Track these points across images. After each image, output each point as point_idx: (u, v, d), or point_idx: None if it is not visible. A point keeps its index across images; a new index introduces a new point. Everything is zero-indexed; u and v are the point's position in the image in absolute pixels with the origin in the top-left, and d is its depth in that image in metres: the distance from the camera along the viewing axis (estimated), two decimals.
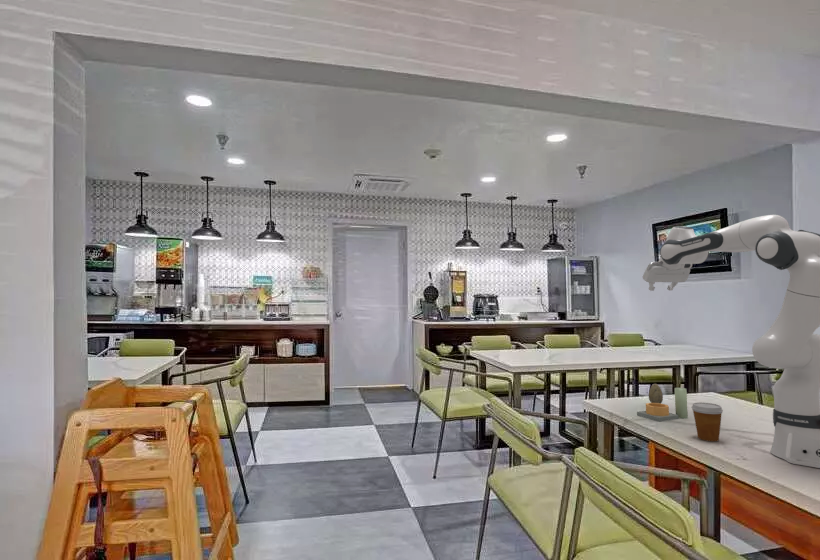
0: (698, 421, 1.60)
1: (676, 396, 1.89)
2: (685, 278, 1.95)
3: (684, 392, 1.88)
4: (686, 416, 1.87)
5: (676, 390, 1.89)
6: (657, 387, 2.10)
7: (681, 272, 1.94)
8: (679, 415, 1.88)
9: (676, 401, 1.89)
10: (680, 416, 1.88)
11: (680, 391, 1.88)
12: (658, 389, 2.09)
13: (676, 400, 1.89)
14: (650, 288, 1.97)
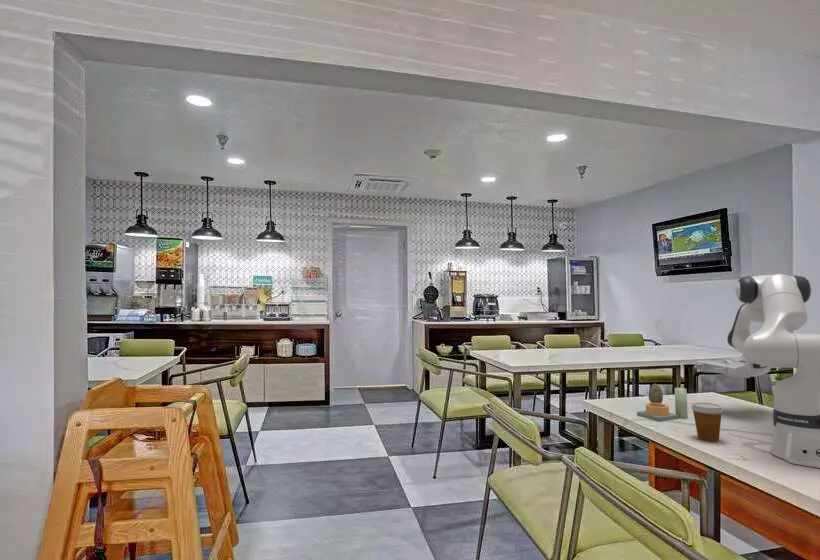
0: (698, 421, 1.60)
1: (676, 396, 1.89)
2: (735, 366, 1.85)
3: (684, 392, 1.88)
4: (686, 416, 1.87)
5: (676, 390, 1.89)
6: (657, 387, 2.10)
7: (735, 366, 1.88)
8: (679, 415, 1.88)
9: (676, 401, 1.89)
10: (680, 416, 1.88)
11: (680, 391, 1.88)
12: (658, 389, 2.09)
13: (676, 400, 1.89)
14: None
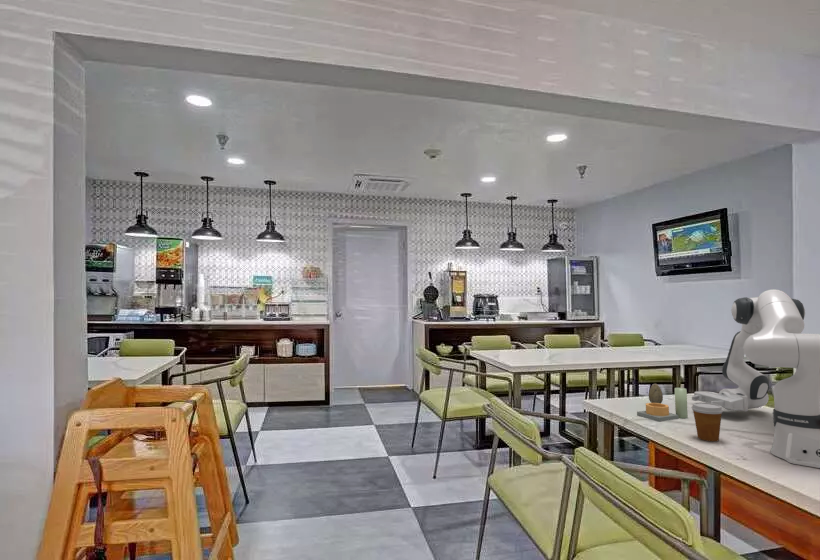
0: (698, 421, 1.60)
1: (676, 396, 1.89)
2: (732, 400, 1.83)
3: (684, 392, 1.88)
4: (686, 416, 1.87)
5: (676, 390, 1.89)
6: (657, 387, 2.10)
7: (732, 399, 1.87)
8: (679, 415, 1.88)
9: (676, 401, 1.89)
10: (680, 416, 1.88)
11: (680, 391, 1.88)
12: (658, 389, 2.09)
13: (676, 400, 1.89)
14: None
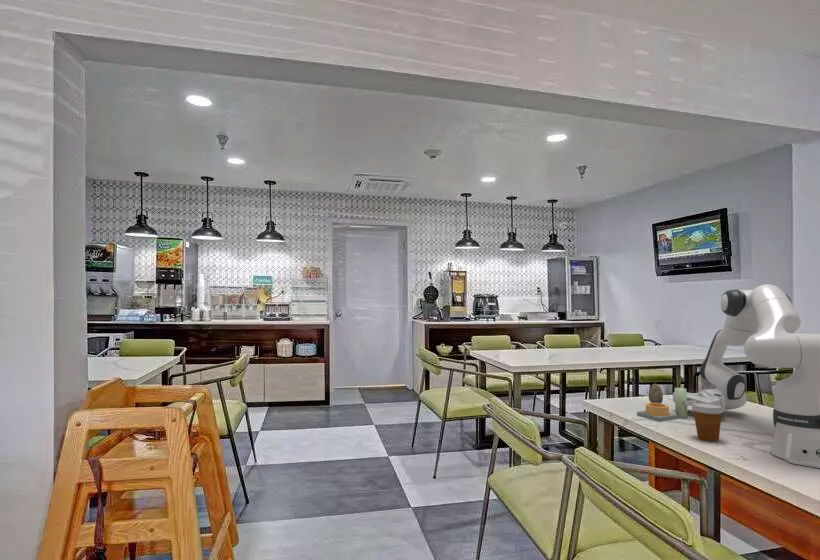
0: (698, 421, 1.60)
1: (676, 396, 1.89)
2: (709, 400, 1.82)
3: (684, 392, 1.88)
4: (686, 416, 1.87)
5: (676, 390, 1.89)
6: (657, 387, 2.10)
7: (709, 400, 1.85)
8: (679, 415, 1.88)
9: (676, 401, 1.89)
10: (680, 416, 1.88)
11: (680, 391, 1.88)
12: (658, 389, 2.09)
13: (676, 400, 1.89)
14: None
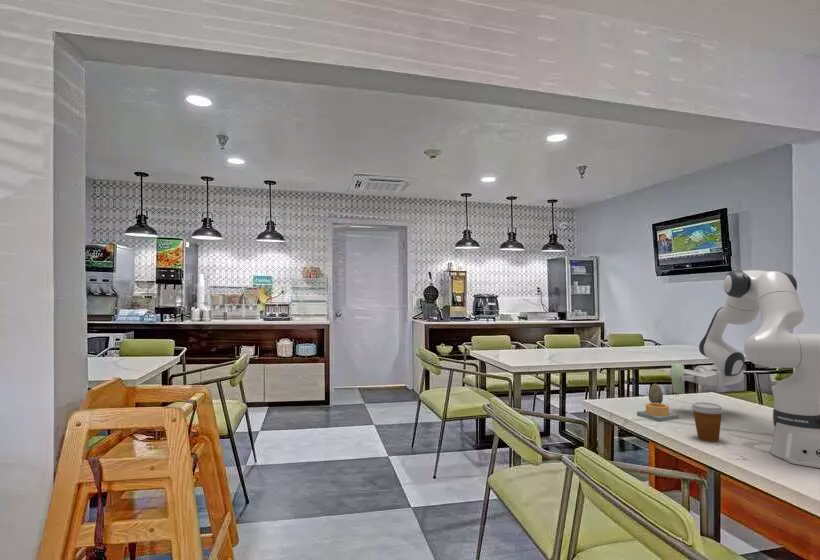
0: (698, 421, 1.60)
1: (673, 371, 1.90)
2: (706, 375, 1.82)
3: (681, 367, 1.88)
4: (683, 391, 1.88)
5: (673, 365, 1.90)
6: (657, 387, 2.10)
7: (706, 374, 1.86)
8: (676, 390, 1.89)
9: (673, 376, 1.90)
10: (677, 391, 1.88)
11: (677, 366, 1.88)
12: (658, 389, 2.09)
13: (673, 375, 1.90)
14: None
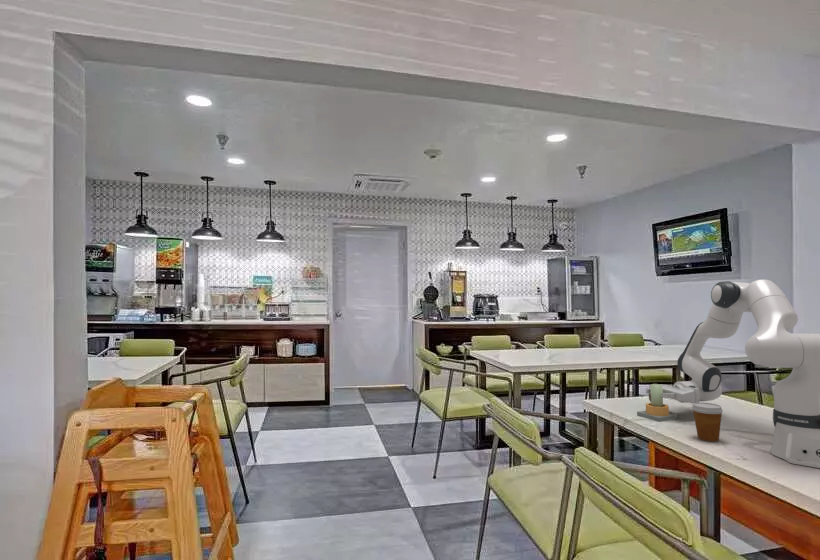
0: (698, 421, 1.60)
1: (652, 392, 1.90)
2: (683, 392, 1.83)
3: (660, 388, 1.88)
4: None
5: (652, 386, 1.90)
6: None
7: (684, 391, 1.86)
8: None
9: (652, 397, 1.90)
10: None
11: (656, 387, 1.89)
12: None
13: (652, 396, 1.90)
14: None
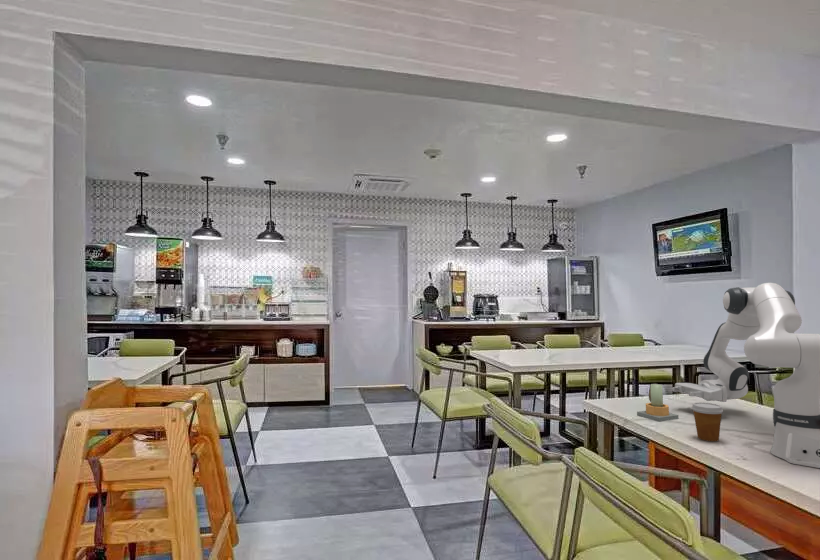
0: (698, 421, 1.60)
1: (652, 392, 1.90)
2: (711, 390, 1.85)
3: (659, 388, 1.89)
4: None
5: (652, 386, 1.90)
6: None
7: (711, 390, 1.88)
8: None
9: (652, 397, 1.90)
10: None
11: (655, 387, 1.89)
12: None
13: (652, 396, 1.90)
14: None
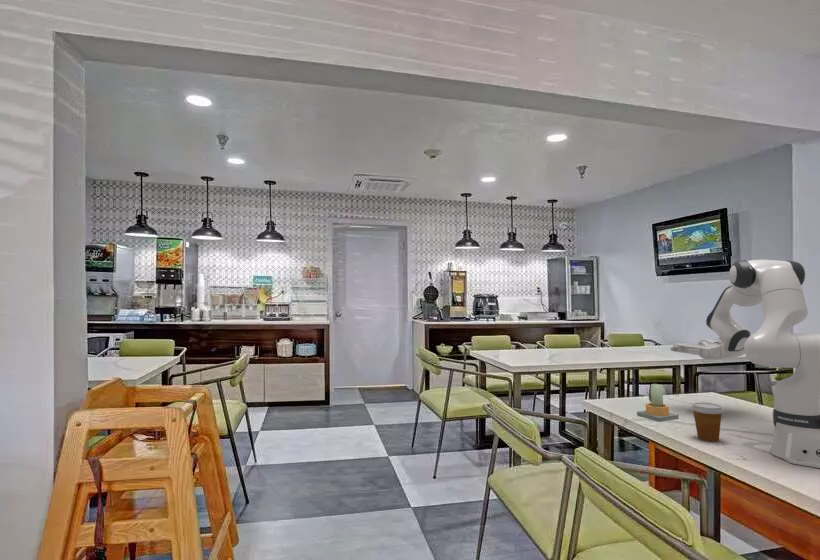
0: (698, 421, 1.60)
1: (652, 392, 1.90)
2: (709, 347, 1.86)
3: (660, 388, 1.88)
4: None
5: (652, 386, 1.90)
6: None
7: (709, 347, 1.89)
8: None
9: (652, 397, 1.90)
10: None
11: (656, 387, 1.89)
12: None
13: (652, 396, 1.90)
14: None
